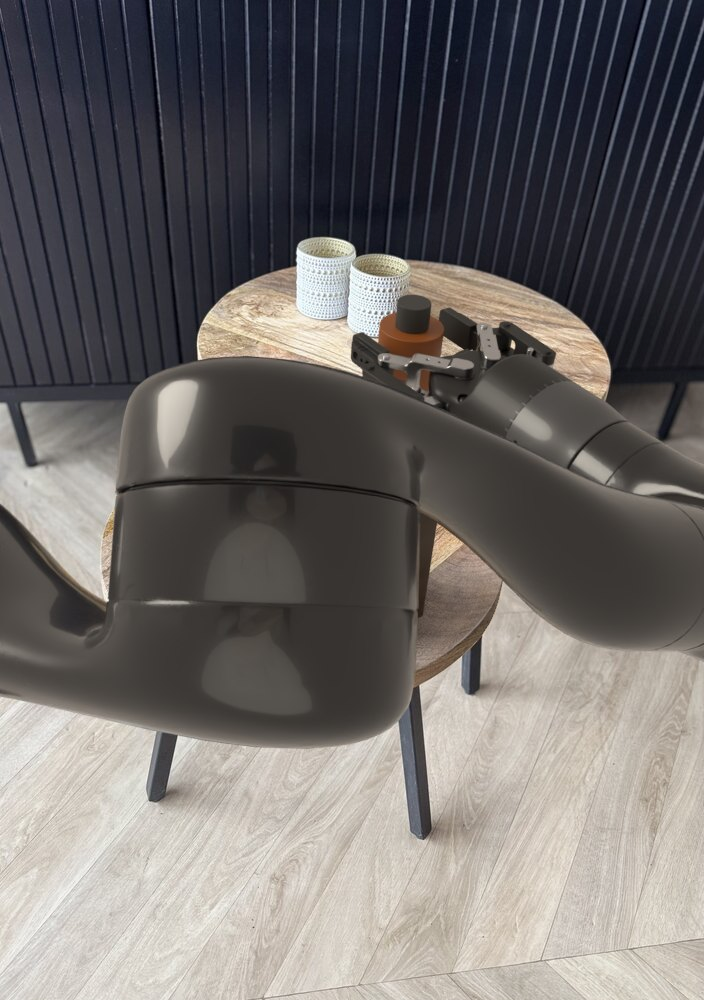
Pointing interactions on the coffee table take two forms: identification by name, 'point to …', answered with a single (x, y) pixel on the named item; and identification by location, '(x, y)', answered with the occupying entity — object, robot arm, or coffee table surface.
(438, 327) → the amber bottle
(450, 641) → the coffee table surface
